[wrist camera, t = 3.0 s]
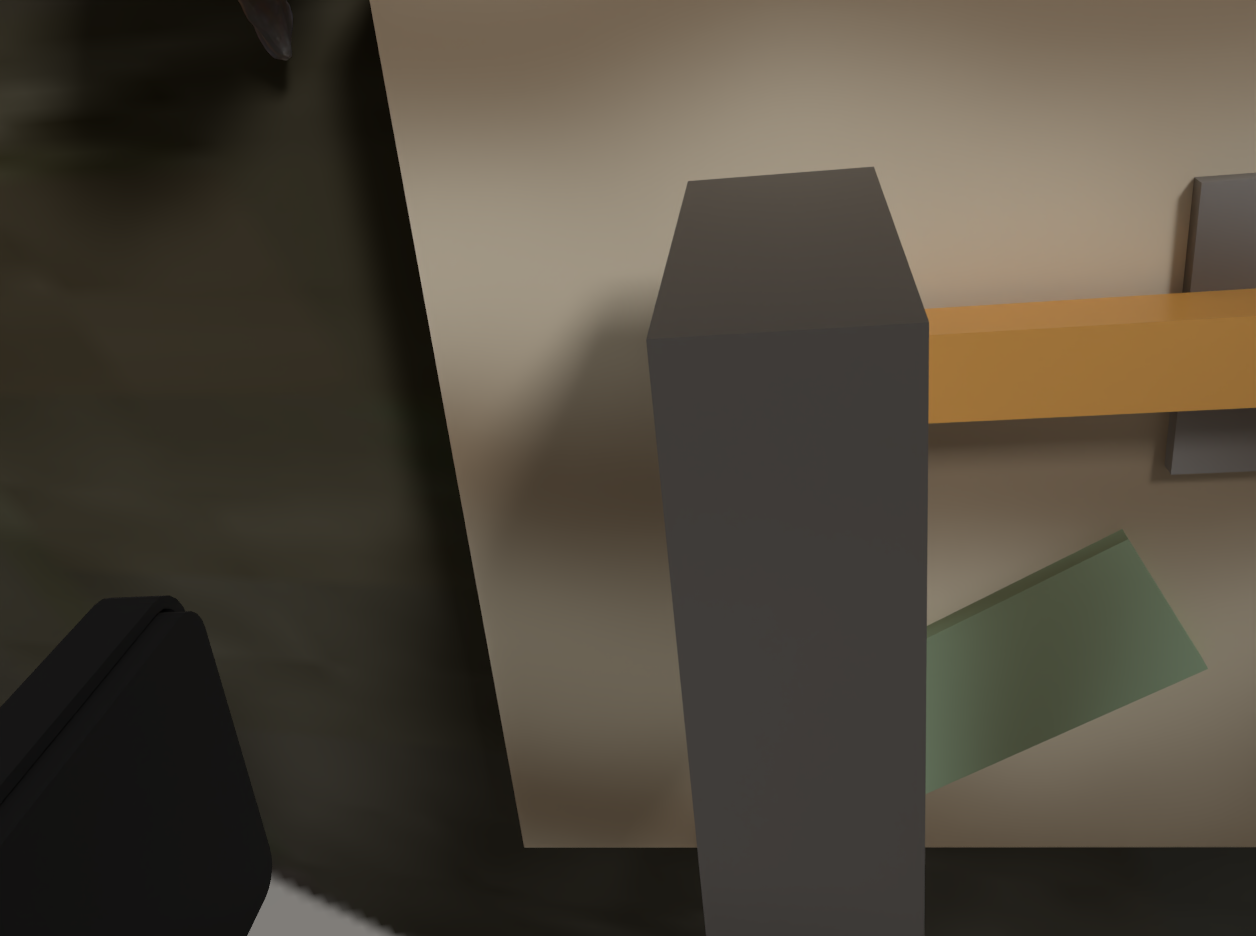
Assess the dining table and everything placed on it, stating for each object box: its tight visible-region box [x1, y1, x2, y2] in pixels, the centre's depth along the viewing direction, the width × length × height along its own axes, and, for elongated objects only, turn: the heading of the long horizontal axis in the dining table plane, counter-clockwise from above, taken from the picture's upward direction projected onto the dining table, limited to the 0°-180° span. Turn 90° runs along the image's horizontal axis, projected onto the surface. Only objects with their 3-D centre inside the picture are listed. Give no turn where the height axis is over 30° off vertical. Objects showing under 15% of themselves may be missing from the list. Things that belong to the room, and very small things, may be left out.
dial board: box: [370, 0, 1256, 848], centre depth 18 cm, size 15×13×3 cm
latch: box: [646, 167, 1256, 936], centre depth 13 cm, size 8×6×7 cm
